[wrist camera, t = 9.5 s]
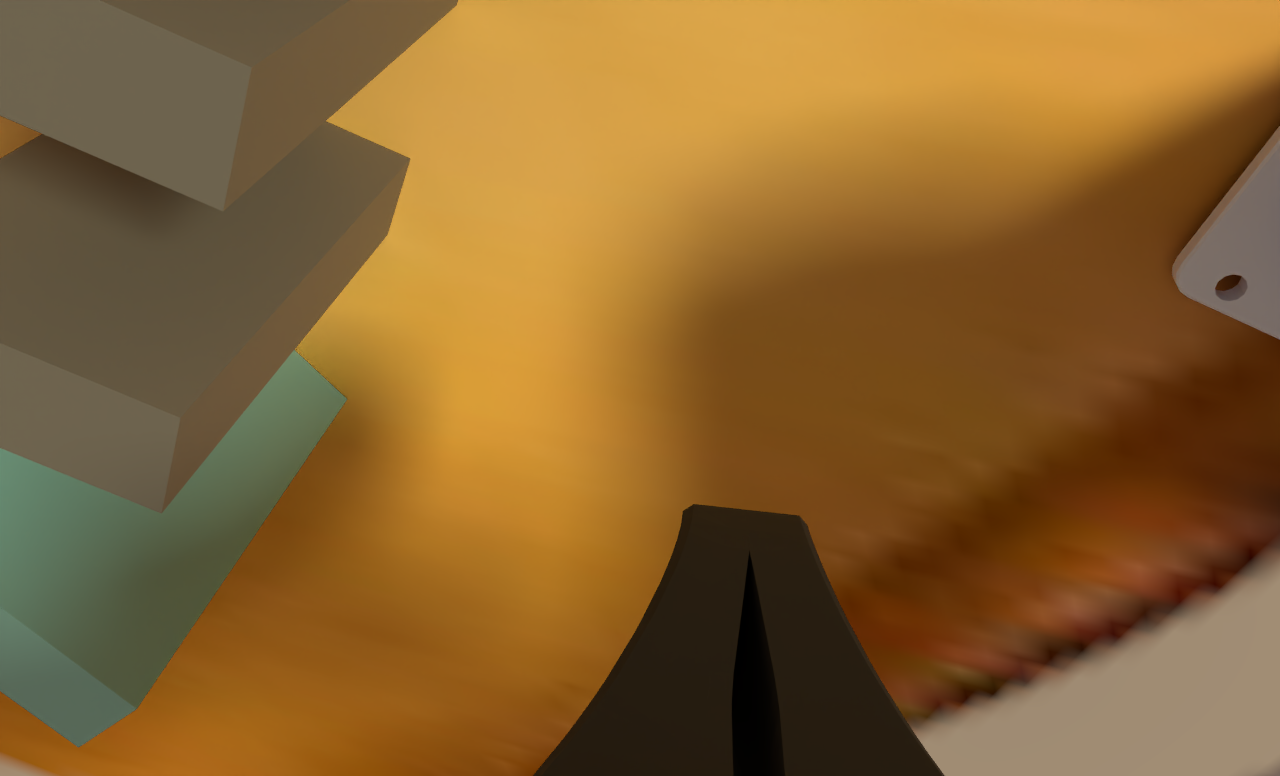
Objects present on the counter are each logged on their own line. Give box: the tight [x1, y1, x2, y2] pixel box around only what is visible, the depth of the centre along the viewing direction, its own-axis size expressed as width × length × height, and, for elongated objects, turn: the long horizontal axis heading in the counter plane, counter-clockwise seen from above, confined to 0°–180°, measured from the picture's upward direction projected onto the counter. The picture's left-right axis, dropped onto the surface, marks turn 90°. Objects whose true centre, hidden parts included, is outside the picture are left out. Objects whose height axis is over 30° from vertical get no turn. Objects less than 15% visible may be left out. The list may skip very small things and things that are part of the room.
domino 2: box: [0, 121, 410, 514], centre depth 19 cm, size 2×5×9 cm, turn 68°
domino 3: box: [0, 350, 347, 747], centre depth 21 cm, size 2×5×9 cm, turn 41°
